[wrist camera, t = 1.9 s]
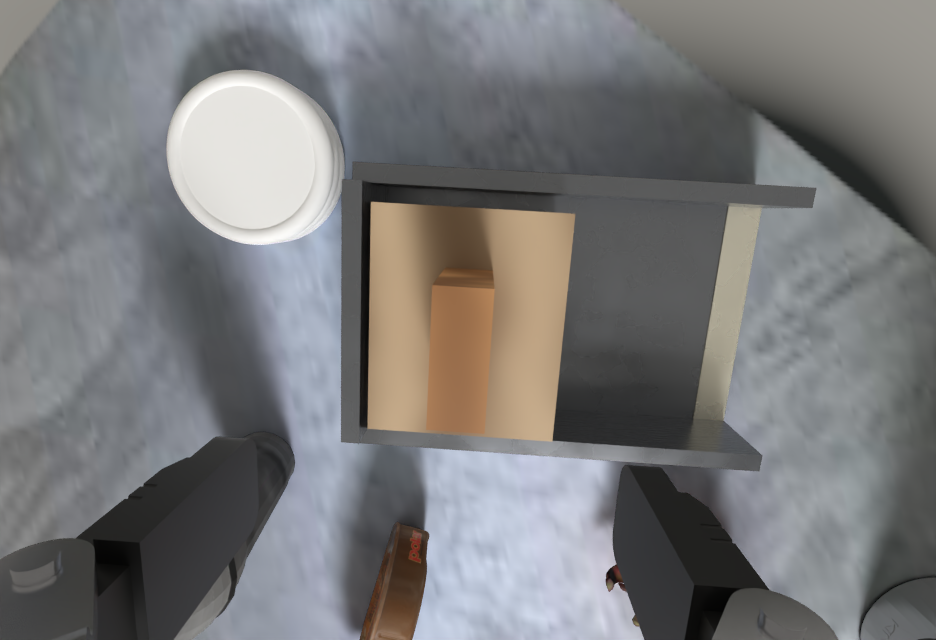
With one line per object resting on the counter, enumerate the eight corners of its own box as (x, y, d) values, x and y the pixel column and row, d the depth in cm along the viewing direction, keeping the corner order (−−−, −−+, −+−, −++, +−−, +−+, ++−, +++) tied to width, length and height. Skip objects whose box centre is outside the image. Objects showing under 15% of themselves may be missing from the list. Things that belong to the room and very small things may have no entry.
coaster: (346, 84, 31) (328, 69, 28) (348, 245, 33) (332, 248, 30) (189, 80, 32) (153, 63, 28) (202, 239, 34) (169, 242, 30)
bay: (755, 192, 32) (843, 186, 24) (713, 427, 35) (778, 490, 27) (377, 170, 32) (341, 157, 24) (373, 404, 36) (341, 458, 28)
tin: (401, 497, 37) (377, 579, 29) (442, 509, 37) (429, 594, 29) (353, 656, 40) (319, 770, 32) (390, 667, 41) (366, 783, 32)
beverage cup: (203, 481, 37) (-106, 776, 18) (233, 398, 36) (-69, 622, 16) (293, 519, 38) (87, 848, 18) (327, 438, 36) (141, 703, 17)
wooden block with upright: (556, 212, 31) (603, 214, 18) (539, 394, 34) (570, 506, 21) (396, 203, 31) (333, 199, 19) (391, 384, 34) (334, 489, 21)
